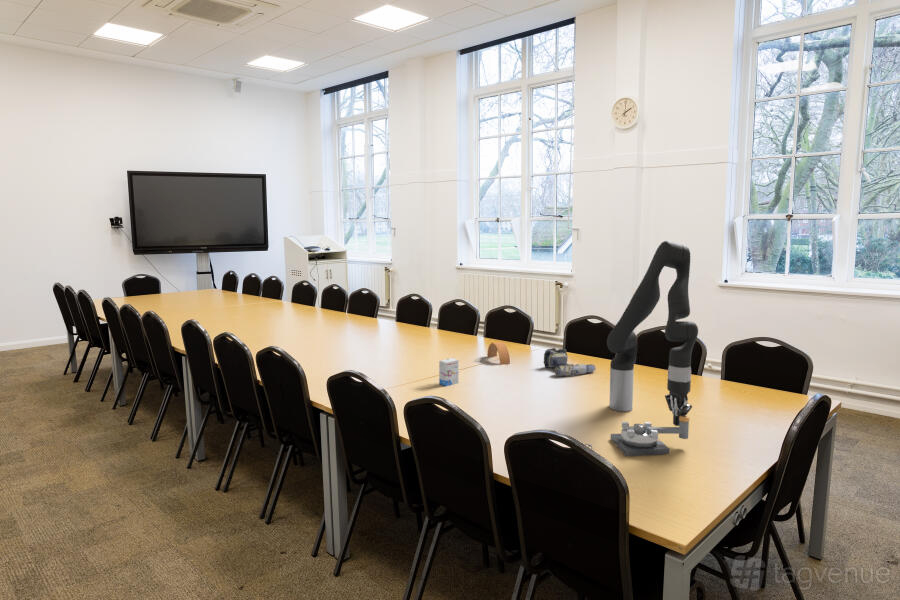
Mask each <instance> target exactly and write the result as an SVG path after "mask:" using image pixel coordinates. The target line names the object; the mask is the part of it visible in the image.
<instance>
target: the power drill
mask: <svg viewBox="0 0 900 600" xmlns="http://www.w3.org/2000/svg"><path fill="white" fill-rule="evenodd" d="M543 365H544V367H545V368H548V367H549V368H551V369H552V368H554V370H553V371H554V374H555V376H557V377H558V378H560V377H574V376H577V375H578V376H579V375H585V374H587V373H589V374H590V373H593V372H596V369H597V367H596V365H595V364H584V363H581V364H580V363H579V364H577V363H576V364H574V363H568V353H567V349H565V348H559V349H556V347H552V348H547V349H546V350H545V351H544V354H543Z"/></svg>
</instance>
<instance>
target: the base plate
mask: <svg viewBox="0 0 900 600" xmlns="http://www.w3.org/2000/svg"><path fill="white" fill-rule="evenodd" d="M610 440H611V442H612V441H613V442H614V443H615V444H616V445H617V446H616V445H615V444H614V443H613V442H612V443H613V444H614V445H615V446H616V448H617V449H618V450H621V451H622V452H623V453H622V452H621V451H620V452H621V453H622V454H623V455H624V456H625V457H639V456H640V457H641V456H643V455H646V456H663V454H669V455H670V454H671V453H670V452H671V451H670V449H671V448H669V446H667V445H666V444H665V443H664V442H663V441H662V440H661V439H659V438H658V443H657V445H655V446H653V447H635V446H630V445H628V444H625V443H624V442H622V440H621V433H610Z"/></svg>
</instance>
